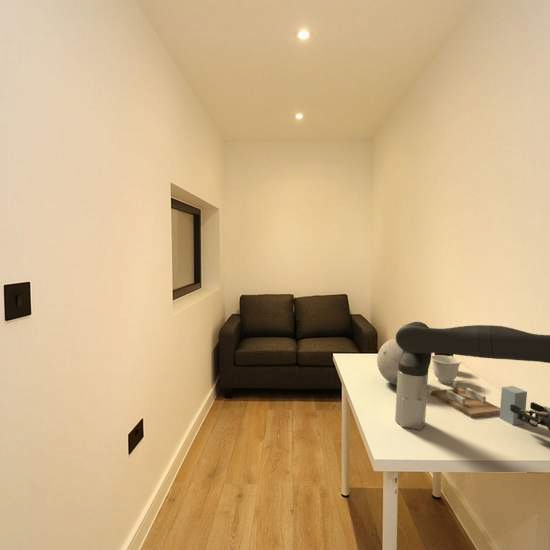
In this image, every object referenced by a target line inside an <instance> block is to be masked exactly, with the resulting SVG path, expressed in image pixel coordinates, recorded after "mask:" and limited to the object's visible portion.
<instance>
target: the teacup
mask: <svg viewBox="0 0 550 550" xmlns="http://www.w3.org/2000/svg"><path fill="white" fill-rule="evenodd" d="M431 361H432V367H433V368H432V369H433V374H434V376H435V377H436V378H437V382H439V383H442V384H444V385H445V384H447V385H450V383H451V384H453V382H452V381H455V379H457V377H458V373H459V368H460V365H461V363H462V361H461V360H460V359H459V358H457V357H454V356H453V357H452V356H444V355H431Z"/></svg>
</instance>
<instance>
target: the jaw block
mask: <svg viewBox="0 0 550 550" xmlns="http://www.w3.org/2000/svg"><path fill="white" fill-rule="evenodd" d="M527 398H528V391H527V390H524V389H522V388H520V387H517V386H515V385H510V386H502V387H501V396H500V407H499V408H500V415H499V419H500V420H502V421H504V422H506V423H508V424H509V425H510V426H511V425H512V426H517V425H523V424H524V425H525V422H523V421H521V420H519V419H517V417H518V414H516V413H514V412H512V411H510V405H515V406H517V407H520V408H522V409H524V410H527V409H526V407H527Z"/></svg>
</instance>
